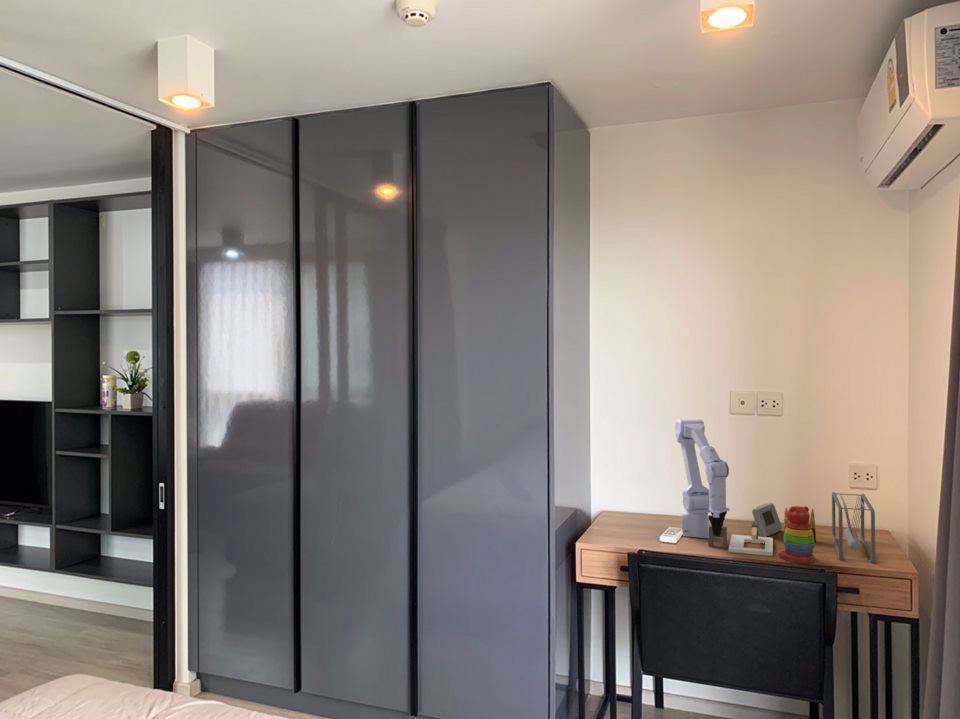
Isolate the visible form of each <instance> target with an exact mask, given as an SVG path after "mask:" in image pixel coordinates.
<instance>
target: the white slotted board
mask: <svg viewBox="0 0 960 719" xmlns="http://www.w3.org/2000/svg"><path fill="white" fill-rule="evenodd" d="M730 537H731V538H730V542H729V545H728V552H729V553H737V554H747V555H756V556H757V555H758V556H770V557H773V556H774V555H773V554H774V551H773V550H774V549H773V548H774V547H773V546H774V538H773V537H761V536H759V535H758V524H752V523H751V535H743V534H733V533H732V534H731V536H730ZM748 542H751V544H760V543H763V544H762V545H764V549H763V548H752V547H745V543H748ZM764 543H765V544H764Z"/></svg>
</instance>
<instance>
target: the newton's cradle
mask: <svg viewBox="0 0 960 719" xmlns="http://www.w3.org/2000/svg"><path fill="white" fill-rule="evenodd" d="M831 493H832V494H831V536H832V541H833V545H834V548H835V551H836V555H837V557H838V559H840V560H839V561H842V560H851V561H862V562H863V561H864V562H871V563H872V564H874V563H876V512H875V509H874V507H873V506H872V505H871V503H870V501H869V500H868V497H867V496H866V495H865V493H860V494H855V493H854V494H853V493H841V492H839V493H837V492H834V491H832V492H831ZM838 495H839V496H840V499H841V501H842V503H843V504H841V502H840V500H839V498H838ZM843 496H850V498H851V499H850V498H849V500H851V501H849V500H848V502H849V503H845V502H846V501H845V499H844V497H843ZM851 496H856V497H851ZM852 498H855V499H852ZM852 500H853V501H852ZM854 500H855V505H854V508H853V507H852V508H851V507H847V506H848V504H849V505H851V504H852V503H854ZM851 502H852V503H851ZM846 504H847V505H846ZM842 505H843V507H842ZM865 505H866V506H867V507H866V506H865ZM836 507H837V509H838V510H837V511H838V538H837V536H836V532H837V530H836V529H837V528H836V525H837V524H836ZM867 508H868V509H867ZM843 510H844V513H845V517H846V522H847V528H845V529H844V530H843V525H844V524H843ZM849 510H852V511H853V510H854V511H853V515H852V520H850V516H849ZM865 511H869V512H870V548H871V549H869V547H868V544H867V542H866V539H865ZM851 521H852V522H851ZM859 526H860V538H859V537H858V532H859V529H858V528H859ZM843 531H844V532H843ZM843 534H844V535H843ZM843 536H844V537H845V539H843V538H844V537H843ZM844 540H845V541H846V542H847V546H848V548H850V550H852V551H858V550H860V549H861V547H862V546H863V548H864V550H865V553H866V554H867V556H868V559H862V558H861V559H859V558H850V557H844V553H843V551H844V549H843V547H844V544H843V543H844V542H843V541H844ZM861 543H862V544H861Z"/></svg>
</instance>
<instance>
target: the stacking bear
mask: <svg viewBox="0 0 960 719" xmlns="http://www.w3.org/2000/svg"><path fill="white" fill-rule="evenodd" d="M787 510H788V512H787V517H788V519H789V521H790V522H789V523H788V524H787V526H786V529H785V533H784V532H783V538H784V539H783V546H784V549H785V550H780V551H779V552H778V555H777V556H778V557H779V558H781V560H785V561H786V562H787V561H788V562H790V563H795V564H796V563H797V564H812V563H813V562H815V555H814V554H813V552H814V548H815V545H816V544H815V543H816V542H815V541H814V536H813V531H812V529H811V527H810V525H809V524H807V523H808V521H809V520H810V519H811V513H810V512H809V511H810V508H809V507H808V506H800V505H795V506H790V507H789V509H787Z"/></svg>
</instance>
